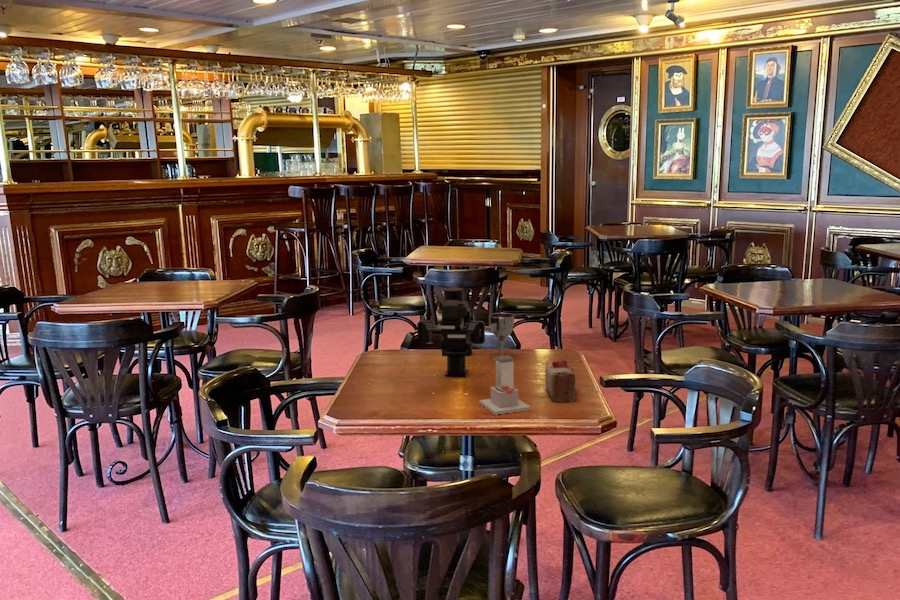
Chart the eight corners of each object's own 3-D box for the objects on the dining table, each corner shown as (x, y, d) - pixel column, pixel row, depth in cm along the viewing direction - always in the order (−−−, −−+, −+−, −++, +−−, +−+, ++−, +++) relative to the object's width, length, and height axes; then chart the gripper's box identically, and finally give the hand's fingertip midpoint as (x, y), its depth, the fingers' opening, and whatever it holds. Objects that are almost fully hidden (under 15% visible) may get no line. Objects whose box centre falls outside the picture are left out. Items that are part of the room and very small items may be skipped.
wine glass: (485, 358, 239) (485, 314, 236) (505, 355, 242) (505, 311, 240) (497, 363, 232) (497, 318, 229) (518, 360, 235) (518, 315, 233)
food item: (542, 388, 205) (543, 354, 204) (570, 387, 206) (571, 354, 204) (550, 403, 192) (550, 367, 190) (580, 402, 192) (580, 366, 190)
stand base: (479, 403, 192) (479, 383, 191) (513, 399, 195) (513, 378, 194) (495, 415, 183) (495, 393, 182) (530, 410, 186) (530, 388, 185)
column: (494, 402, 190) (494, 356, 188) (507, 400, 191) (508, 354, 189) (500, 406, 186) (500, 360, 184) (514, 404, 188) (514, 358, 185)
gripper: (420, 298, 206) (413, 310, 191) (485, 298, 205) (483, 311, 190) (421, 335, 209) (414, 351, 194) (485, 335, 207) (483, 351, 192)
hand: (448, 340), depth 192 cm, fingers open, 9 cm apart
